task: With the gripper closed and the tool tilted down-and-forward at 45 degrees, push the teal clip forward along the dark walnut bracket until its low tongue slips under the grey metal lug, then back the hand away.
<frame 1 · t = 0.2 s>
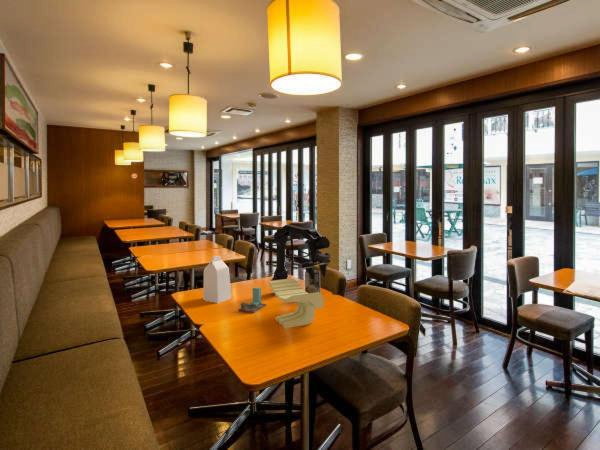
hand: (319, 277, 207), 15 cm above the table, tool pointing down, fingers open, 9 cm apart
coffee box: (312, 297, 223), on the table
bracket: (252, 308, 203), on the table
slatted curved stool: (295, 321, 182), on the table
clip: (253, 297, 204), point 6 cm above the table, slide at 0.0 cm
milk: (217, 299, 221), on the table
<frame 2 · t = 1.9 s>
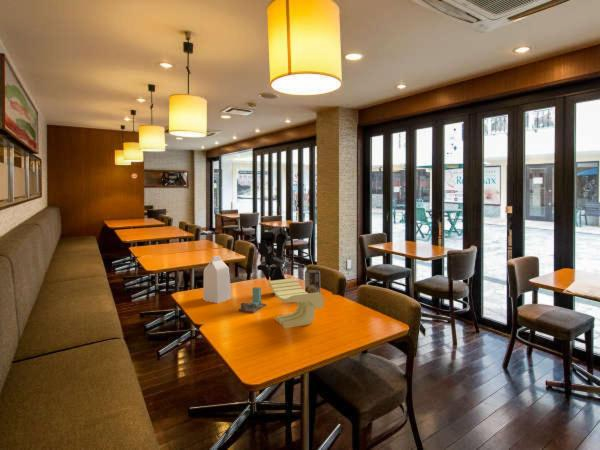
hand: (269, 279, 214), 13 cm above the table, tool pointing down, fingers open, 4 cm apart
nothing on the table moved.
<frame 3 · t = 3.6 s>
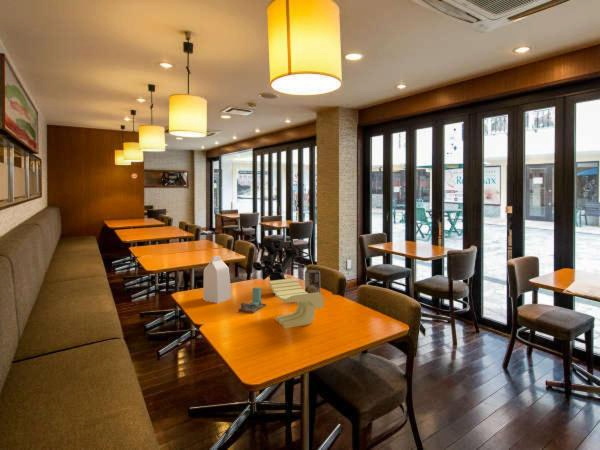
hand: (263, 279, 213), 13 cm above the table, tool tilted 45°, fingers closed
nothing on the table moved.
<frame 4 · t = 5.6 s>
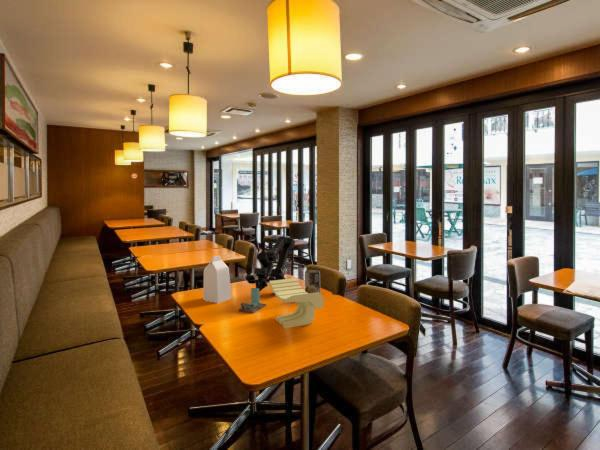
hand: (256, 293, 206), 7 cm above the table, tool tilted 45°, fingers closed, pressing on clip
clip: (252, 298, 202), point 6 cm above the table, slide at 1.7 cm, touching gripper
everything else where it was.
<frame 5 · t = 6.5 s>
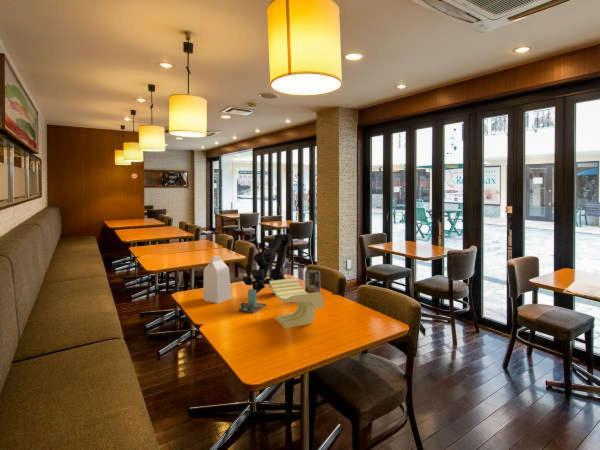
hand: (253, 294, 203), 7 cm above the table, tool tilted 45°, fingers closed, pressing on clip
clip: (249, 299, 199), point 6 cm above the table, slide at 5.1 cm, touching gripper
everything else where it was.
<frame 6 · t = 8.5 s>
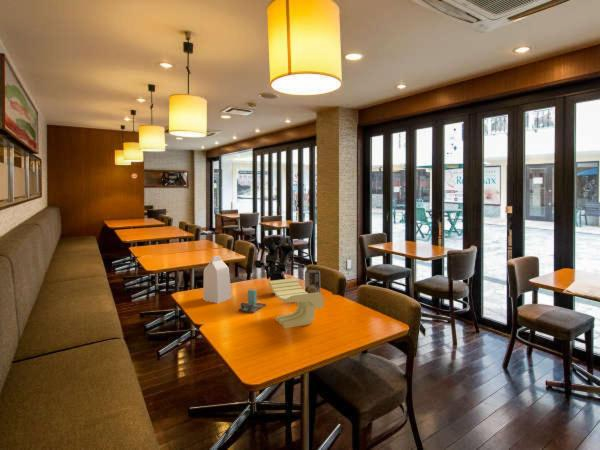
hand: (267, 279, 213), 14 cm above the table, tool tilted 35°, fingers closed
clip: (249, 299, 199), point 6 cm above the table, slide at 5.0 cm
everything else where it was.
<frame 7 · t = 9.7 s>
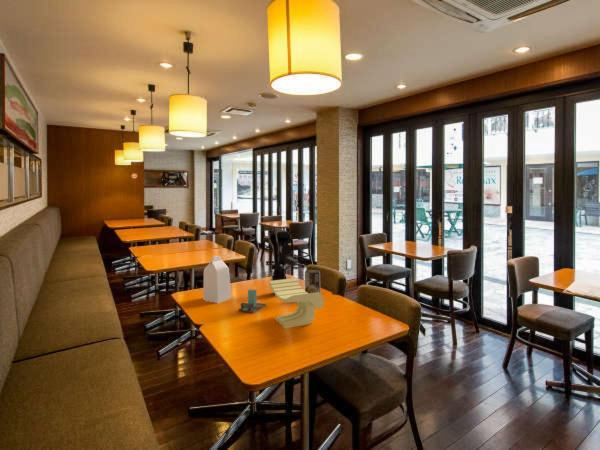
hand: (283, 278, 215), 13 cm above the table, tool pointing down, fingers closed
nothing on the table moved.
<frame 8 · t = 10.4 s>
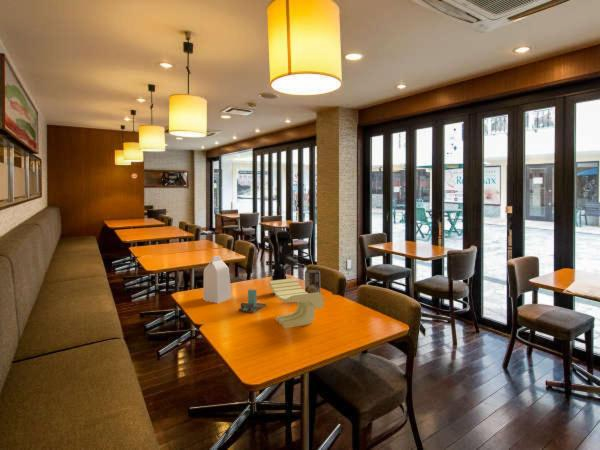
hand: (283, 278, 215), 13 cm above the table, tool pointing down, fingers closed
nothing on the table moved.
at the end: clip slide at 5.0 cm; the gripper is holding nothing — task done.
